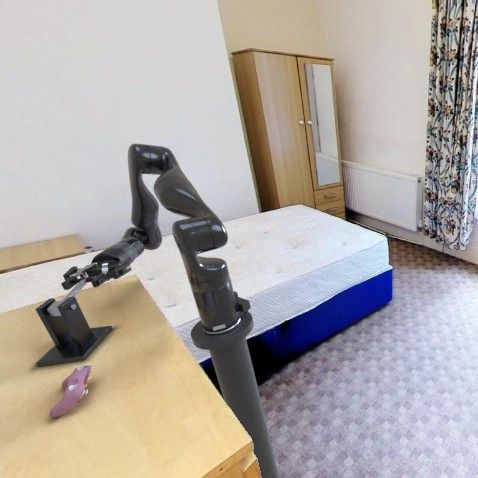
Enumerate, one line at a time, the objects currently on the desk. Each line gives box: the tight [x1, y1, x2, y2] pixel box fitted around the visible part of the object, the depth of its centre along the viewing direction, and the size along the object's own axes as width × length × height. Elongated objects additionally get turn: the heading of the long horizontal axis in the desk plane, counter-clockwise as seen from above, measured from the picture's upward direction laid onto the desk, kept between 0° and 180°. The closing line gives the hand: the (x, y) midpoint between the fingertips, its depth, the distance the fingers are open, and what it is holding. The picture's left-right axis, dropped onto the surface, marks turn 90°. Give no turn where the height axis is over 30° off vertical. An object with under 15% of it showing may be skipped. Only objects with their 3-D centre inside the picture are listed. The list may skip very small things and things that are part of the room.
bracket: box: [34, 296, 114, 368], centre depth 80 cm, size 12×9×14 cm
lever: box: [47, 277, 95, 317], centre depth 82 cm, size 13×6×2 cm, turn 16°
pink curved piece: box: [49, 365, 92, 418], centre depth 68 cm, size 10×5×7 cm, turn 34°
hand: (79, 285), depth 84 cm, fingers closed on lever, 5 cm apart
